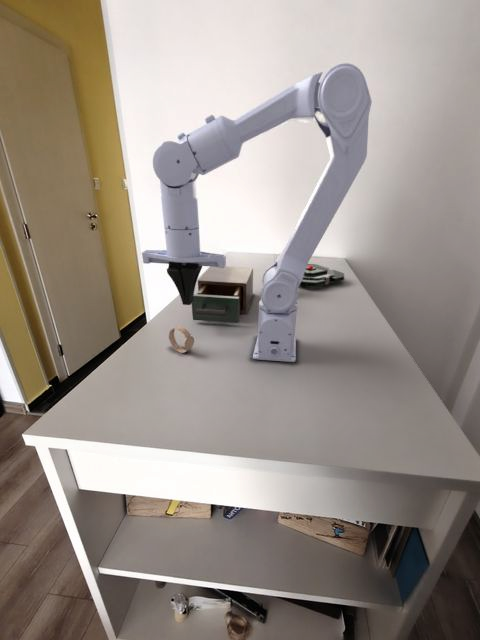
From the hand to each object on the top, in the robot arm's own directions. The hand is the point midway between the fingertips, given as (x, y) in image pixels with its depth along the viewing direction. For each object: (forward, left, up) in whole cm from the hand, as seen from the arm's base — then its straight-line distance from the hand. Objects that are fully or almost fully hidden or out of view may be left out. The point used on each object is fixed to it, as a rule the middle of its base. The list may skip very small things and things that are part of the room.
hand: (187, 303), depth 63 cm
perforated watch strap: (-3, +1, -9) cm, 9 cm away
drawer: (+13, -3, -8) cm, 16 cm away
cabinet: (+24, -3, -9) cm, 26 cm away
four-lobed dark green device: (+48, -25, -9) cm, 55 cm away
